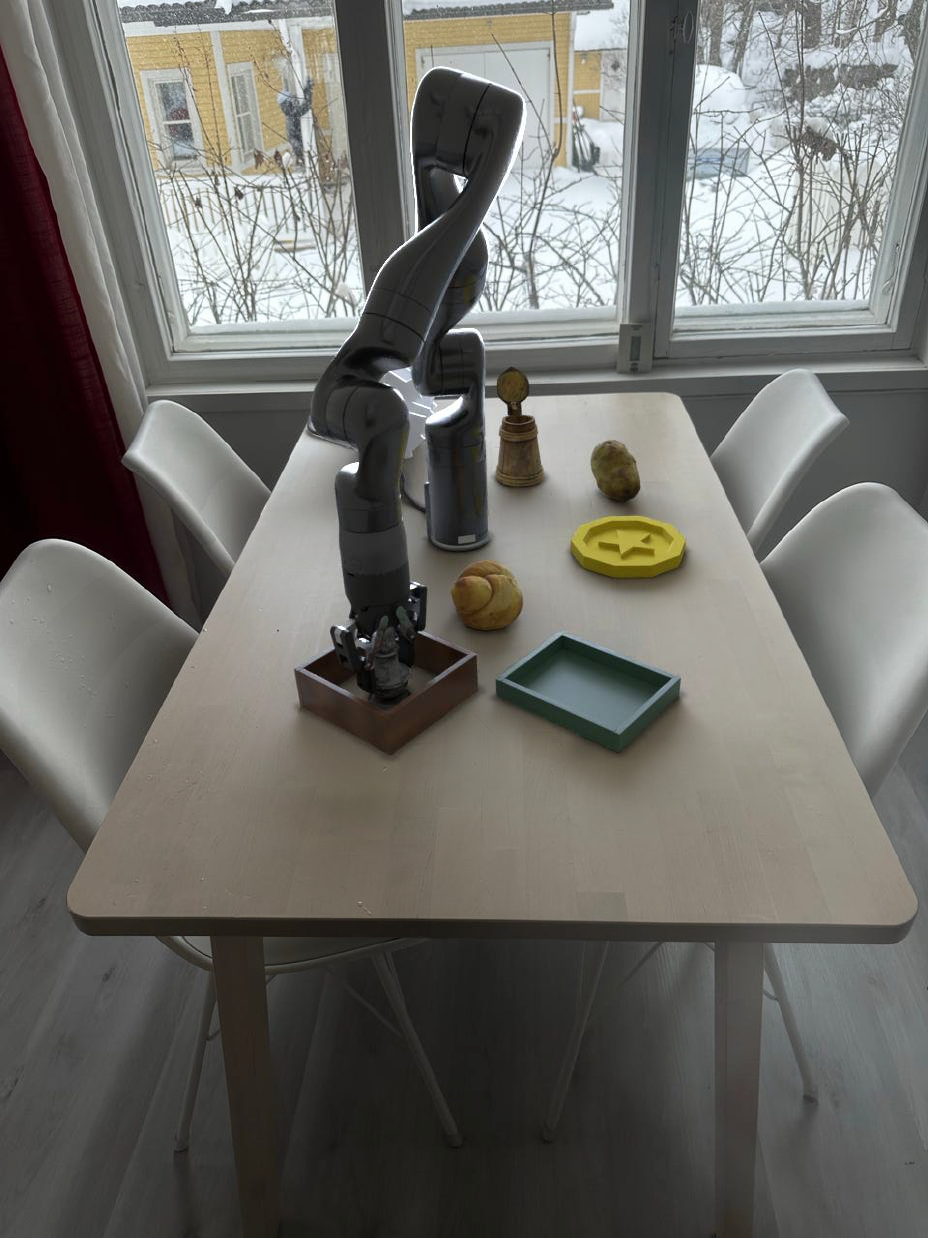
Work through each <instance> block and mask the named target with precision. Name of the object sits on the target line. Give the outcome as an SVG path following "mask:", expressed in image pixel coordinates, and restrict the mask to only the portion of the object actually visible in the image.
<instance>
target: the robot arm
mask: <svg viewBox="0 0 928 1238" xmlns="http://www.w3.org/2000/svg"><path fill="white" fill-rule="evenodd" d="M526 108H527V107H526V102H525V99H524V97H523V96H522V94H521V93H519V92H518V91H515V90H514V89H511V88H509V87H506V86H504V85H502V84H499V83H496V82H493V81H491V80H489V79H485V78H482V77H479V76H477V75H475V74H471V73H468V72H465V71H463V70H460V69H456V68H452V67H447V66H435V67H432V68H431V69H429V70H428V71H427V72H426V73H425V74H424V76H423V77H422V79H421V80H420V82H419V84H418V87H417V89H416V92H415V95H414V99H413V103H412V108H411V109H412V110H411V117H410V153H411V155H410V156H411V166H412V176H413V177H412V179H413V189H414V199H415V200H414V201H415V231H414V236H412V237H411V238H410V239H409V240H407V241H406V242H405V243H403V245H401V246H399V248H397V250H395V251H394V252H393V253H392V254H391V255H390V256H389V258H387V260H386V261H385V262H384V264H383V265H382V267H381V268H380V269H379V271H378V273H377V275H376V276H375V279H374V282H373V284H372V286H371V288H370V291H369V293H368V295H367V299H366V301H365V304H364V306H363V309H362V310H361V314H360V317H359V319H358V322H357V325H356V327H355V329H353V332H352V333H351V334H350V336H349V337H348V338H347V339H346V340H345V341H344V343H343V344H342V345H341V347H340V348H339V350H338V351H337V352H336V354H335V355H334V356H333V358H332V360H331V361H330V362H329V363H328V365H327V366H326V367H325V369H324V371H323V372H322V373H321V375H320V376H319V378H318V380H317V382H316V384H315V387H314V389H313V391H312V395H311V400H310V406H309V413H310V414H309V415H308V418H307V421H306V427H307V430H308V432H310V433H311V434H313V435H315V436H318V437H321V438H322V439H324V440H326V441H328V442H331V443H333V444H337V445H340V446H345V447H347V446H348V448H351V449H353V448H355V449H358V453H359V454H358V453H357V454H358V462H354V463H353V462H352V463H350V464H348V465H345V466H344V467H342V468H340V469H339V471H338V472H337V474H336V475H335V477H334V485H333V486H334V497H335V505H336V512H337V521H338V547H339V556H340V564H341V571H342V579H343V586H344V587H343V588H344V594H345V595H346V599H347V600H348V602H349V605H350V610H349V613H348V620H346V621H345V622H344V623H343V624H341V625H337V624H333V625H332V626H331V627H330V629H329V635H330V638H331V641H332V644H333V645H334V648H335V651H336V654H337V658H338V661H339V664H340V666H342V667H344V668H347V669H349V670H351V671H352V672H354V673H356V675H355V678H356V685H357V688H358V689H360V690H362V691H363V692H365V693H367V694H369V695H370V694H373V693H375V692H376V691H377V687H376V678H375V669H374V667H373V662H374V658H375V654H376V652H378V651H379V650H380V647H381V642H382V638H383V635H384V632H385V631H386V629H388V628H389V627H394V630H395V635H396V636H398V638H396V639H395V640H396V643H398V645H399V647H400V648H399V651H398V652H397V653H398V661H399V662H401V663H404V664H405V665H407V666H408V667H409V668H410V669H412V668H413V667H414V666H415V665H414V660H415V649H414V641H415V639H416V634H417V633H418V632H419V631H421V632H422V631H425V630H426V626H427V607H428V587H427V586H426V585H423V584H422V583H418V582H416V581H414V580H411V573H410V563H409V550H408V537H407V531H406V527H405V523H404V518H403V508H402V497H401V496H402V495H401V494H402V493H401V486H400V485H401V480H402V492H403V496H404V498H405V499H406V500H407V501H408V503H410V504H411V505H412V506H413V507H415V508H416V509H418V510H420V511H422V512H424V513H425V520H426V521H425V523H426V536H427V539H430V540H431V542H432V544H433V545H434V546H436V547H437V548H439V549H442V550H444V551H449V552H466V551H467V552H468V551H472V550H476V549H478V548H481V547H483V546H485V545H486V544H487V543H488V542H489V540H490V537H491V536H490V529H489V528H490V527H489V495H488V492H489V491H488V464H487V461H488V460H487V440H486V439H487V436H486V372H487V371H486V366H487V365H486V364H487V363H486V349H485V348H486V347H485V342H484V340H483V336H482V335H481V333H480V332H479V331H478V330H477V329H475V328H459V329H453V328H454V327H456V326H457V325H458V324H459V323H460V322H461V321H462V320H463V319H464V318H465V317H466V316H468V314H470V312H471V311H472V310H473V309H474V308H475V307H476V306H477V304H478V302H479V301H480V300H481V299H482V296H483V294H484V292H485V288H486V283H487V277H488V270H489V262H490V261H489V260H490V243H489V240H488V236H487V233H486V230H485V228H484V226H483V222H484V221H485V219H486V217H487V215H488V214H489V211H490V209H491V207H492V206H493V205H494V202H495V200H496V198H497V196H498V195H499V193H500V191H501V189H502V187H503V185H504V183H505V181H506V180H507V178H508V176H509V173H510V171H511V169H512V167H513V165H514V163H515V160H516V157H517V155H518V152H519V149H520V146H521V144H522V139H523V135H524V131H525V126H526V118H527V109H526ZM458 177H459V178H462V179H465V180H467V181H466V182H465V184H464V186H463V188H462V186H461V184H460V182H459V179H458ZM409 367H410V372H411V378H412V382H413V385H414V387H415V389H416V390H417V392H418V393H419V394H421V395H423V396H427V397H434V398H438V397H439V398H440V397H454V396H459V398H458V399H456V400H455V401H454V402H453V403H452V404H451V405H449V406H447V407H445V408H443V409H442V410H439V411H438V412H436V413H435V412H434V414H433V415H432V416H431V417H429V418H428V419H427V421H426V423H425V433H424V438H425V440H424V441H425V455H426V468H427V481H426V482H424V484H423V492H424V493H423V494H424V506H423V505H421V504H419V503H418V502H417V501H416V500H415V499H414V498H413V497H412V496H411V495H410V493H409V492H408V481H407V477H406V475H405V472H404V470H403V469H404V463H405V459H406V458H405V452H406V447H407V442H408V437H409V431H410V415H409V410H408V407H407V404H406V402H405V400H404V398H403V396H402V395H401V393H400V392H399V391H398V390H397V389H395V388H394V387H392V386H390V385H387V384H383V383H379V381H380V380H381V378H382V377H383V376H384V375H385V374H386V373H387V372H389V371H393V370H398V369H405V368H409ZM312 426H313V428H312ZM404 458H405V459H404ZM415 614H416V618H415ZM364 635H365V636H367V637H369V638H371V639H372V641H371V642H370V641H368V640H366V639H365V638H364ZM363 649H365V651H366V654H365V658H364V657H362V653H363Z"/></svg>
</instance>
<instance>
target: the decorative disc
mask: <svg viewBox="0 0 928 1238" xmlns="http://www.w3.org/2000/svg"><path fill="white" fill-rule="evenodd" d="M686 545H687V538H686V537H685V536H684V535H682V534H681V532H679V530H678V529H676V528H675V527H674V525H673V524H671V523H668V522H664V521H661V520H657V519H654V518H650V517H647V516H642V515H609V516H607V515H606V516H603V517H601V518H598V519H595V520H592V521H589V522H586V523H584V524H583V523H582V524H580V525H579V527H578V528H577V530H576V532H575V533H574V534H573V536H572V538H571V540H570V552H571V554H572V555H573V557H574V558H575V559H576V560H577V562H578V563H579V564H580V566H581V567H582V568H583V569H587V570H590V571H593V572H596V573H599V574H601V575H604V576H608V577H611V578H614V579H615V578H616V579H617V578H619V579H620V578H654V577H655V576H659V575H661V574H664V573H666V572H669V571H671V570H674V569H677V568H679V566H680V565H681V562H682V559H683V557H684V554H685V552H686Z"/></svg>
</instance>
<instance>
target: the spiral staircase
mask: <svg viewBox="0 0 928 1238" xmlns="http://www.w3.org/2000/svg"><path fill="white" fill-rule="evenodd" d="M379 383H383V384H387V385H390V386H392V387H394V388H395V389H397V390H398V391H399V392H400V393H401V395H402V396H403V398H404V400H405V402H406V404H407V407H408V410H409V415H410V431H409V437H408V442H407V447H406V452H405V458H404V460H405V459H409V458H413V457H414V455H413V451H414V450H415V449H416V448H417V447H419V446H420V445H421V444H422V443H423V442H424V441H425V436H424V435H425V423H426V421H427V419H428V418H429V417H431V416H432V415H434V414H435V412H434V410H435V409H436V408H437V407H438V405H437V403H436V402H435V397H427V396H423V395H421V394H419V393H418V392H417V390H416V389H415V387H414V385H413V382H412V378H411V372H410V367H409V368H405V369H398V370H393V371H389V372H387V373H386V374H385V375H384V376H383V377H382V378H381V380H380V381H379ZM346 448H349V447H348V446H346ZM352 450H353V451H355V453H357V454H358V455H359V453H358V449H355V448H352Z"/></svg>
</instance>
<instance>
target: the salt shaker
mask: <svg viewBox="0 0 928 1238" xmlns="http://www.w3.org/2000/svg"><path fill="white" fill-rule="evenodd" d="M371 641H372V639H371ZM399 648H400V647H399V645H398V643H396V640H395V630H394V627H389V628H388V629H386V631H385V632H384V635H383V638H382V642H381V647H380V650H379V651H378V652H376V654H375V658H374V662H373V667H374V669H375V678H376V687H377V691H376V692H375V693H373V694H369V695H368V697H367V702H369V703H370V704H372V705H374V706H376V707H378V708H380V709H382V710H384V711H386V712H387V711H388V710H390V709H391V708H393V707H394V706H396V705H397V704H398V703H400V702H401V701H403V700H404V699H406V698H407V697H408V696H410V695H411V694H412V693H411V692H410V689H408V685H409V683H410V680H411V677H412V669H411V668H409V667H408V666H407V665H405V664H404V663H401V662H399V661H398V653H397V652H398V651H399Z"/></svg>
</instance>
